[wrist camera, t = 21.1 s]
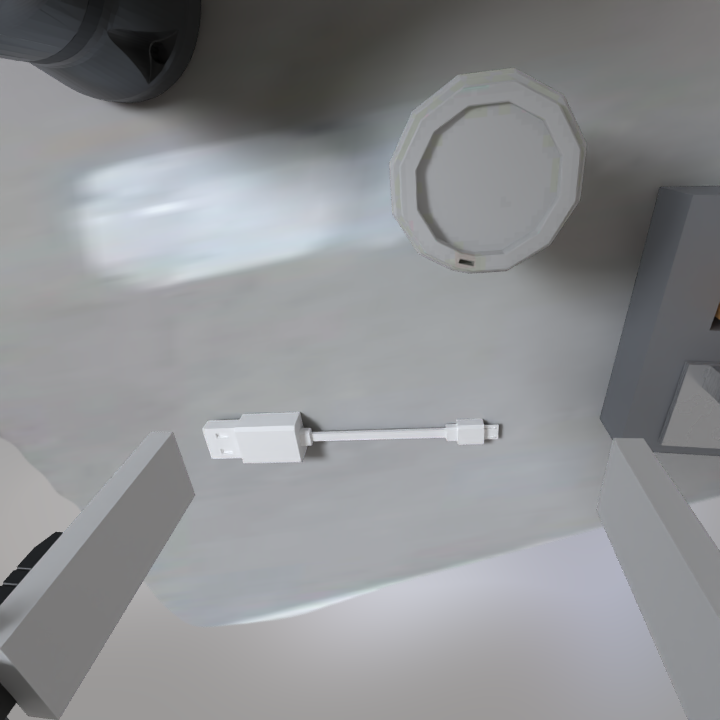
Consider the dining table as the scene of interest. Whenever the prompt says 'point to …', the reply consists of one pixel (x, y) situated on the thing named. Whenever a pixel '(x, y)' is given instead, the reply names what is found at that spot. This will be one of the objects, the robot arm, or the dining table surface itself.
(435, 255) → the disposable coffee cup
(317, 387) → the dining table surface
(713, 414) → the shutter
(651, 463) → the robot arm
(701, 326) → the socket box
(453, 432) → the charging cable
